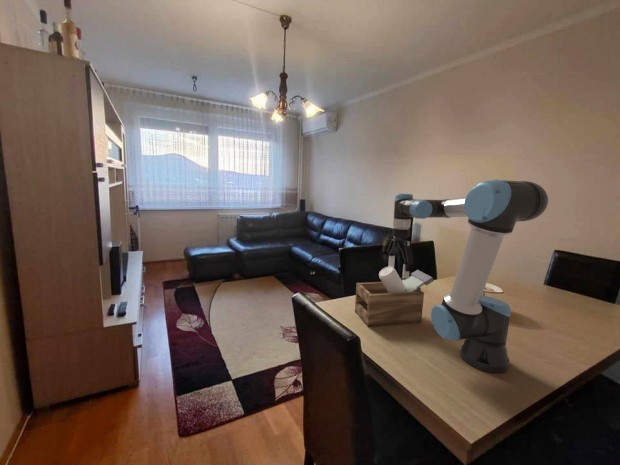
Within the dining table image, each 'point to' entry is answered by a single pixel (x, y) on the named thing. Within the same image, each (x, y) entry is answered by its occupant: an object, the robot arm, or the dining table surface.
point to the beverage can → (391, 280)
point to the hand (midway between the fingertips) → (397, 273)
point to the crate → (387, 305)
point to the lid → (416, 281)
